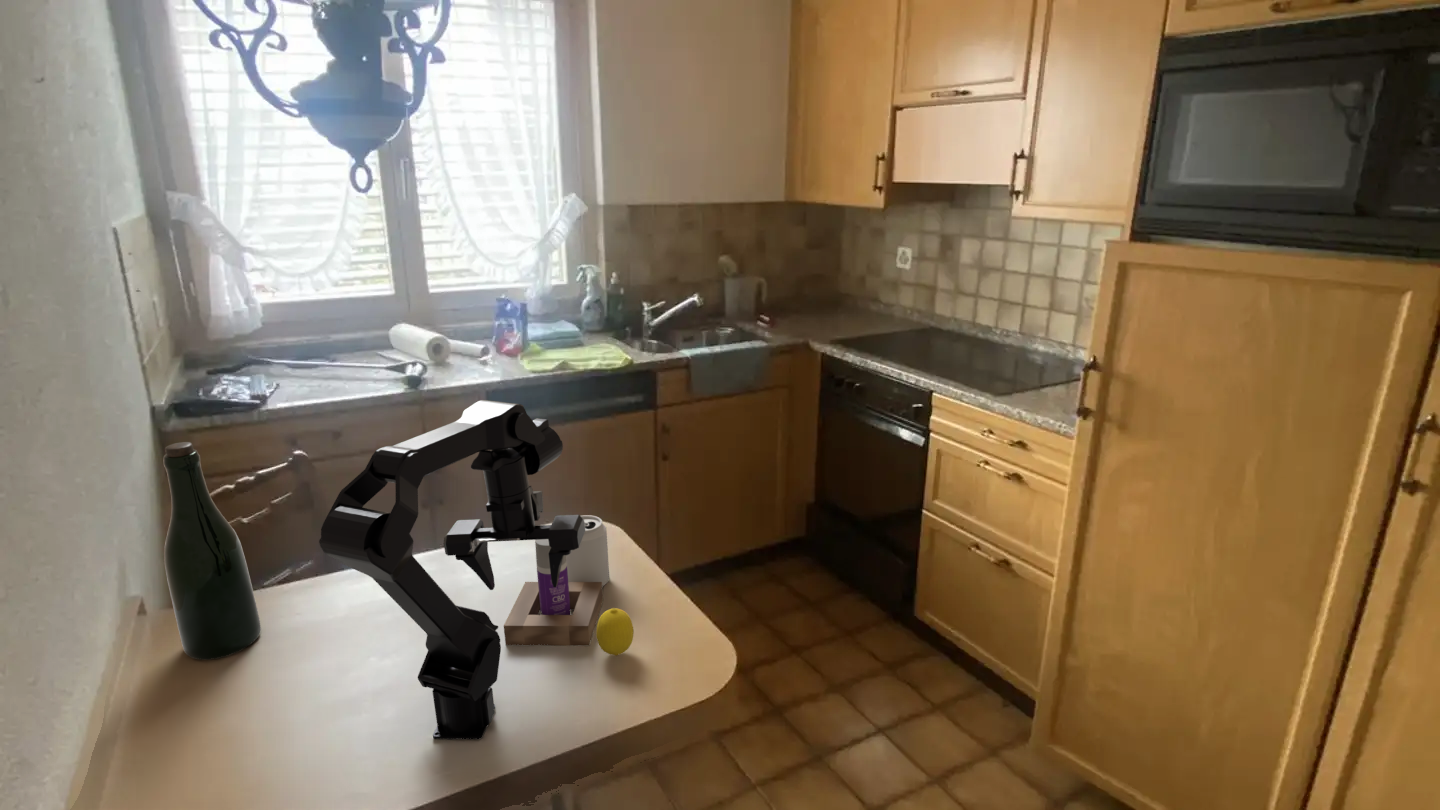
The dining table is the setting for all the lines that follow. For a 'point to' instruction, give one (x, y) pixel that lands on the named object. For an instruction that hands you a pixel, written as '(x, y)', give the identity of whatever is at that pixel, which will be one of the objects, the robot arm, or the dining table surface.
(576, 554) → the can
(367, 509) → the robot arm
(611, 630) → the lemon
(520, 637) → the frame
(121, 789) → the dining table surface
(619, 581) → the dining table surface
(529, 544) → the dining table surface
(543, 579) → the container
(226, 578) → the beer bottle
